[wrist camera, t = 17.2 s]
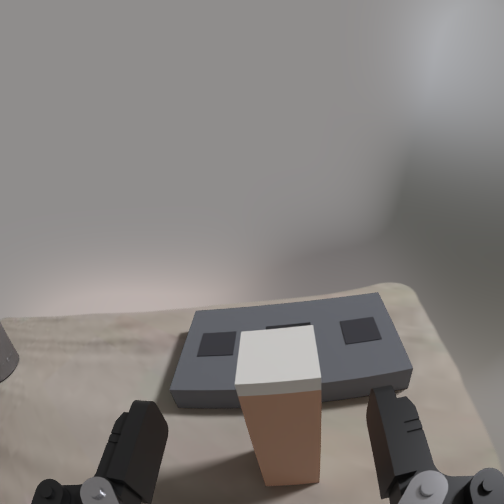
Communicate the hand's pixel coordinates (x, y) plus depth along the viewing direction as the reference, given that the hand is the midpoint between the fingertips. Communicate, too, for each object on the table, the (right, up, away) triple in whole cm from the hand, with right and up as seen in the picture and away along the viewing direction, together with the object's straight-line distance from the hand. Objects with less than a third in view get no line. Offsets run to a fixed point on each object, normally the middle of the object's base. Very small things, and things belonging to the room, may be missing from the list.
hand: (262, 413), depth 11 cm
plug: (+3, -12, +12) cm, 18 cm away
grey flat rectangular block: (+4, -6, +25) cm, 26 cm away
